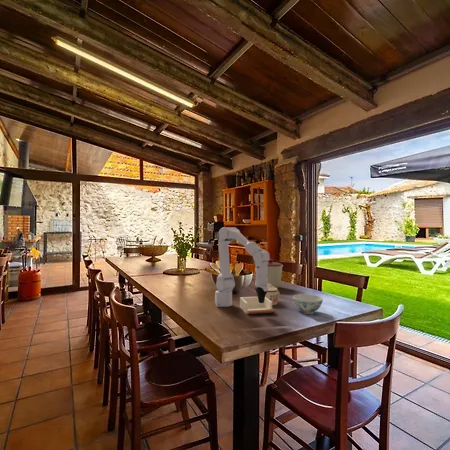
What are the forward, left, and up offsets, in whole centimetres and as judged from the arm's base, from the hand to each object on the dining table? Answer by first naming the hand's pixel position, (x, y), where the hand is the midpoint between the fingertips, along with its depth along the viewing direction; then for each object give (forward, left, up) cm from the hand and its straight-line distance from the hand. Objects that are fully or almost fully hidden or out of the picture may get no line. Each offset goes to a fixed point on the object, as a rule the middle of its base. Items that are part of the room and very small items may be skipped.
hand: (261, 302), depth 142 cm
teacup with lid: (+13, +21, -7) cm, 25 cm away
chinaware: (+26, +3, -7) cm, 27 cm away
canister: (+28, +64, -7) cm, 70 cm away
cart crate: (0, +10, -7) cm, 12 cm away
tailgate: (0, +4, -6) cm, 7 cm away
